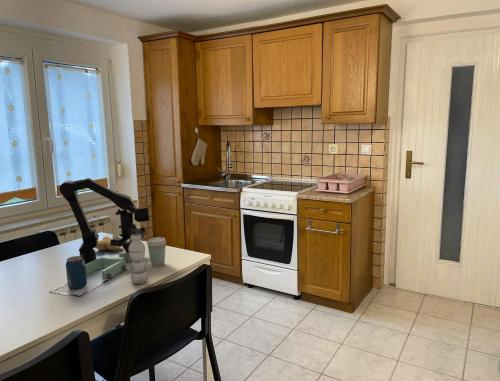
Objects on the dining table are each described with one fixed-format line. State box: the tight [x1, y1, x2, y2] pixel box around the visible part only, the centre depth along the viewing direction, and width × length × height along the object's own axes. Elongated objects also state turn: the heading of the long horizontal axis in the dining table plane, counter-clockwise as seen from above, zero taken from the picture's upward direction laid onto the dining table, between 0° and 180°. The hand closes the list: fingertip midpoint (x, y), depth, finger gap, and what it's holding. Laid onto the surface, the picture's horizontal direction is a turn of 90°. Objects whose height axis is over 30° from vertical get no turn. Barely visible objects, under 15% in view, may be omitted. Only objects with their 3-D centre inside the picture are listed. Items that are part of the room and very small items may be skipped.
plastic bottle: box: [128, 234, 148, 285], centre depth 157 cm, size 6×7×20 cm
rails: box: [49, 268, 128, 298], centre depth 162 cm, size 15×29×1 cm, turn 161°
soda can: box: [65, 255, 88, 291], centre depth 154 cm, size 7×7×12 cm
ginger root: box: [94, 233, 122, 252], centre depth 201 cm, size 16×16×8 cm
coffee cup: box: [146, 236, 167, 268], centre depth 177 cm, size 8×8×12 cm
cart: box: [85, 251, 131, 281], centre depth 173 cm, size 15×23×4 cm, turn 161°
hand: (129, 254), depth 186 cm, fingers closed
